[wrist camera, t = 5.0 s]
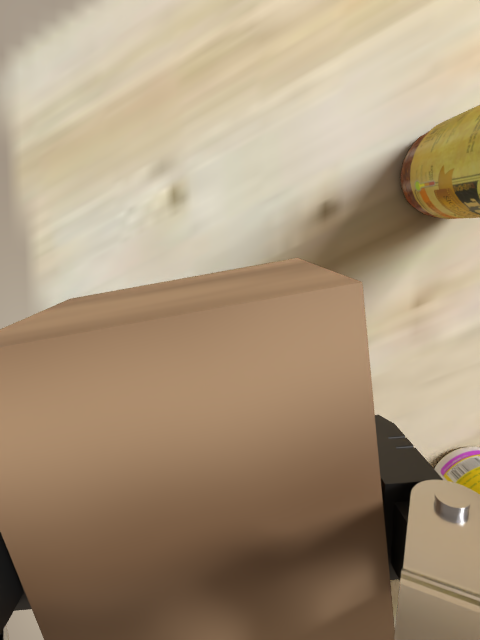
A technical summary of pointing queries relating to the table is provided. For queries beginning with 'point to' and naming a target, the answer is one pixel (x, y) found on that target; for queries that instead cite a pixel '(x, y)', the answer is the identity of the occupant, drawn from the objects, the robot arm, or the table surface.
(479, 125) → the sauce bottle
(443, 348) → the table surface
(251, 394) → the walnut block
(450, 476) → the supplement bottle
